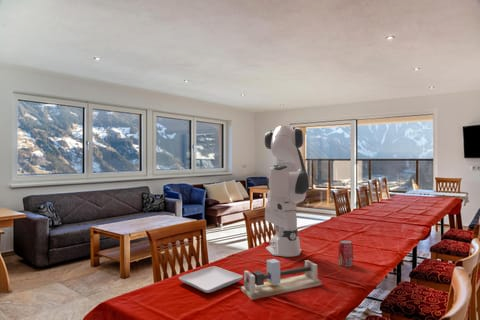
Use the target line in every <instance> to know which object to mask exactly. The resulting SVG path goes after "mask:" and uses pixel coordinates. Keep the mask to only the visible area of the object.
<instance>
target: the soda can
mask: <svg viewBox="0 0 480 320" xmlns="http://www.w3.org/2000/svg"><path fill="white" fill-rule="evenodd" d="M338 264H339V265H340V266H342V267H344V268H346V267H347V268H349V267H351V266H353V265H354V246H353V242H352V241H350V240H348V239H347V240H344V239H342V240H340V241H339V243H338Z"/></svg>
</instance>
